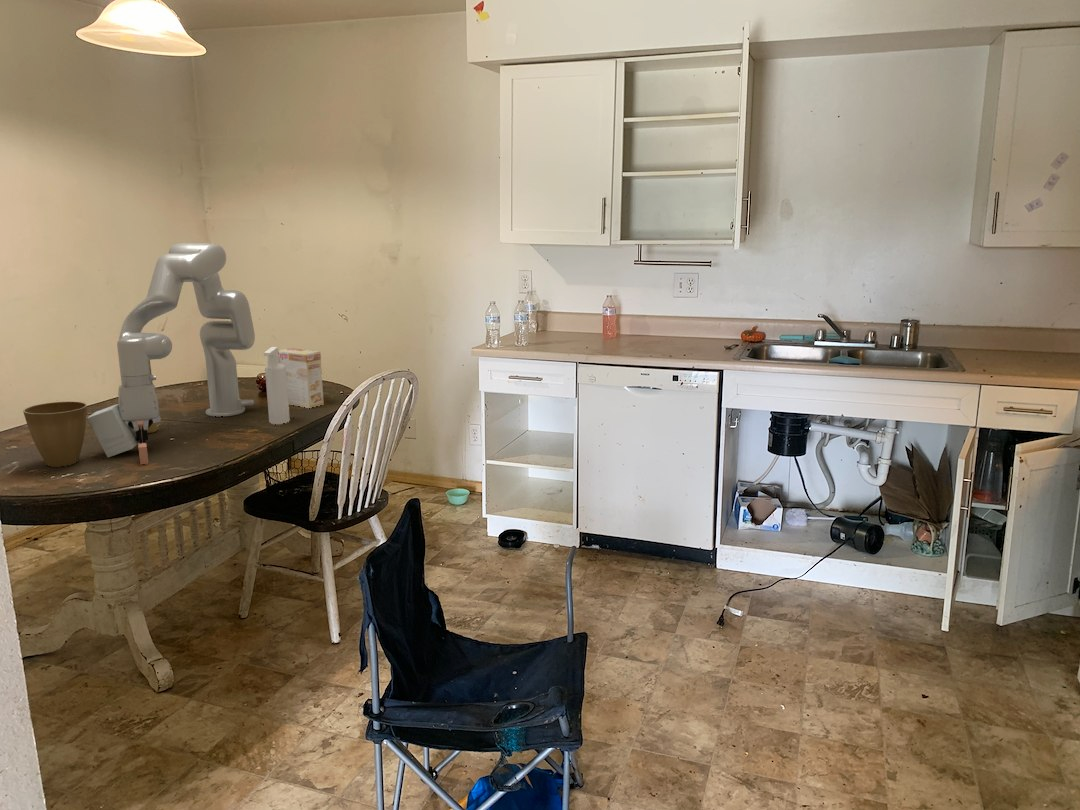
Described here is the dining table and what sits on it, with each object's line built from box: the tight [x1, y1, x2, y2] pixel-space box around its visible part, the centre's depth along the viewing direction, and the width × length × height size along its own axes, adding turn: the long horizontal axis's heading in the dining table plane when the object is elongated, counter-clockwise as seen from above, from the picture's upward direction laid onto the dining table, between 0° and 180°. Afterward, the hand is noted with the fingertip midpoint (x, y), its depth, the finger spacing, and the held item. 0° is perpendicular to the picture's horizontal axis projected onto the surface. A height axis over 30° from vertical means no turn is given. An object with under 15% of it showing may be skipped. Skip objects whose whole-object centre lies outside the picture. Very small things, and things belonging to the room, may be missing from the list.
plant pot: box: [22, 401, 88, 468], centre depth 220 cm, size 15×15×16 cm
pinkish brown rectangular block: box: [137, 421, 149, 466], centre depth 233 cm, size 2×30×5 cm, turn 27°
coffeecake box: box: [277, 347, 325, 409], centre depth 286 cm, size 15×7×20 cm, turn 58°
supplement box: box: [86, 403, 140, 458], centre depth 228 cm, size 7×7×13 cm
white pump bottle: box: [263, 346, 291, 425], centre depth 263 cm, size 7×12×25 cm, turn 175°
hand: (142, 442), depth 232 cm, fingers closed
